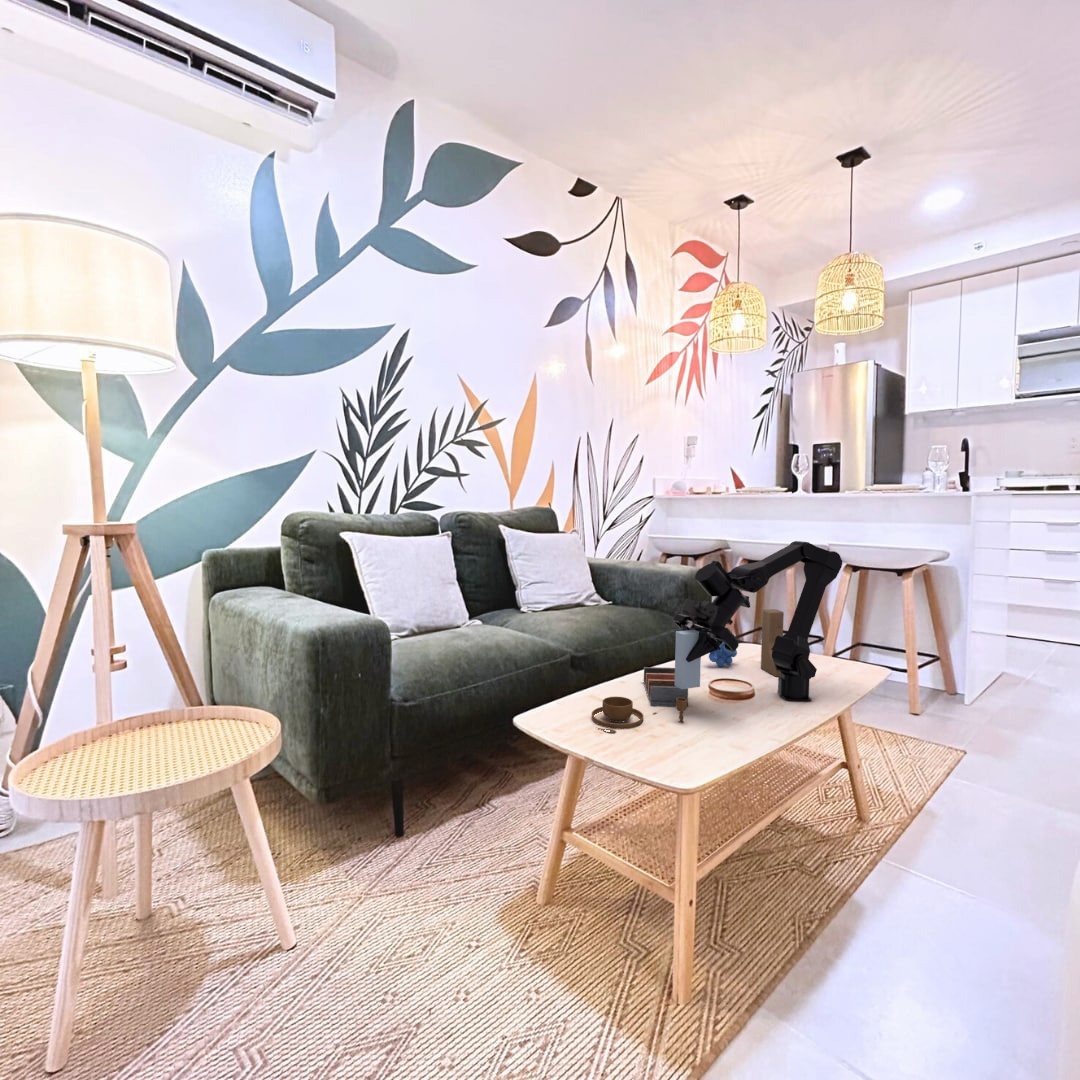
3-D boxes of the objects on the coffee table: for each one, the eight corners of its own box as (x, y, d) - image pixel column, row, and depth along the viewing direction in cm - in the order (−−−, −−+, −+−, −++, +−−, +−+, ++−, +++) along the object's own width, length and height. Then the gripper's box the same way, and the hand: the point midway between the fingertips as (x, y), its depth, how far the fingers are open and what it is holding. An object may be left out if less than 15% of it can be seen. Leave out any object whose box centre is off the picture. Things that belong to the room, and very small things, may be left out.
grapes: (715, 672, 177) (717, 632, 176) (700, 667, 183) (701, 627, 182) (746, 668, 182) (747, 628, 181) (730, 662, 188) (731, 624, 187)
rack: (676, 683, 167) (676, 667, 166) (688, 707, 148) (688, 689, 148) (643, 682, 167) (643, 666, 167) (651, 706, 149) (651, 688, 148)
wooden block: (790, 676, 173) (792, 614, 172) (775, 677, 172) (777, 615, 171) (774, 667, 182) (776, 608, 181) (760, 668, 181) (762, 609, 180)
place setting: (613, 705, 151) (613, 682, 150) (690, 723, 139) (690, 698, 138) (575, 727, 136) (576, 701, 136) (657, 749, 125) (658, 721, 124)
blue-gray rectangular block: (692, 682, 145) (693, 629, 144) (699, 686, 142) (701, 632, 141) (674, 685, 143) (675, 631, 142) (681, 689, 140) (683, 634, 139)
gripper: (679, 581, 151) (641, 628, 148) (729, 592, 134) (686, 646, 130) (705, 610, 154) (667, 657, 151) (756, 625, 137) (716, 678, 134)
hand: (682, 659), depth 141 cm, fingers closed on blue-gray rectangular block, 3 cm apart
